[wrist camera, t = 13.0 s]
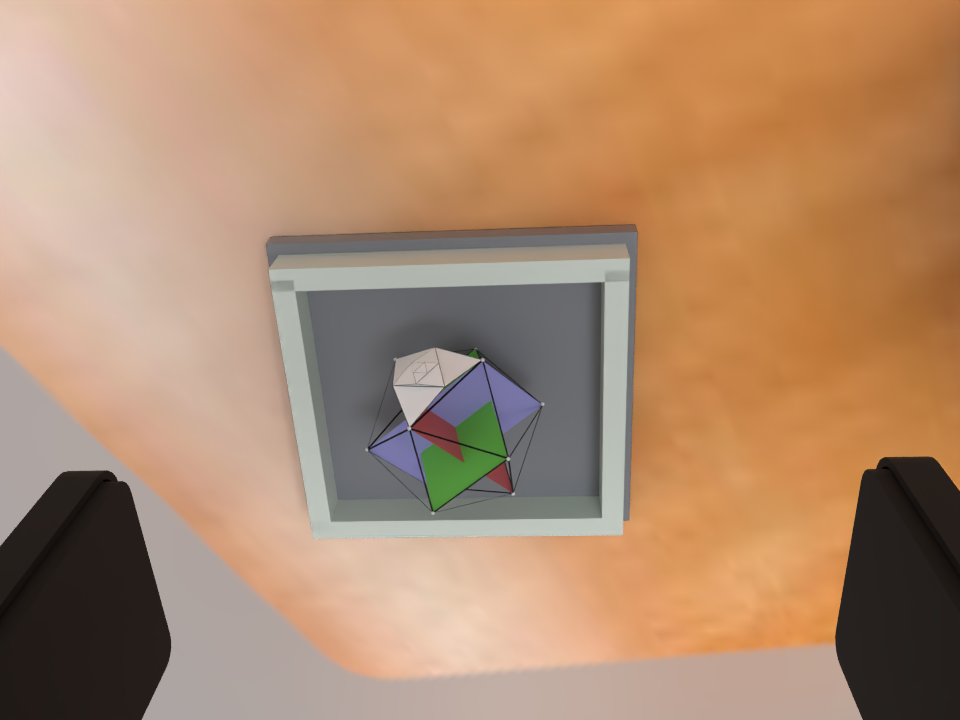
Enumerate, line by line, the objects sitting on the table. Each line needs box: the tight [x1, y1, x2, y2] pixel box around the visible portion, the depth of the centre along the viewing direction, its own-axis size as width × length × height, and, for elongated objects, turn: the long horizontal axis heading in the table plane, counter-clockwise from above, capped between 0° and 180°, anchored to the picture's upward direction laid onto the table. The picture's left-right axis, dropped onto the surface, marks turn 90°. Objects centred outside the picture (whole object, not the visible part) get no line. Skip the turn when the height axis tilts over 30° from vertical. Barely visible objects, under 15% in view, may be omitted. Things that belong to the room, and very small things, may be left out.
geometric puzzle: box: [365, 347, 544, 515], centre depth 39 cm, size 7×7×8 cm
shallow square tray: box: [266, 225, 638, 539], centre depth 41 cm, size 16×15×3 cm
